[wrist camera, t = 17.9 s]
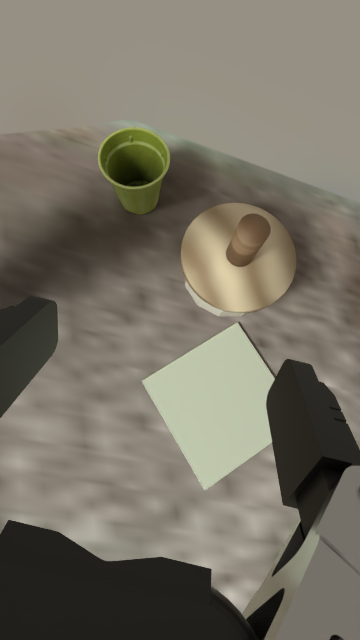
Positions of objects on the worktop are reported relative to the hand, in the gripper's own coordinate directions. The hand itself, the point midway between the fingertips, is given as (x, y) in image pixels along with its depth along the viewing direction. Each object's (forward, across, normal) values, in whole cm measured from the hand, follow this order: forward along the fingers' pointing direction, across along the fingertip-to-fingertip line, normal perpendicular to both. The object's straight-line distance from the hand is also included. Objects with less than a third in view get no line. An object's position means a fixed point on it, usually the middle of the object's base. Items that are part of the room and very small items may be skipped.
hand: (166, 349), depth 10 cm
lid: (+29, -6, +5) cm, 30 cm away
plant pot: (+40, +11, +3) cm, 42 cm away
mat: (+21, -8, +23) cm, 32 cm away
